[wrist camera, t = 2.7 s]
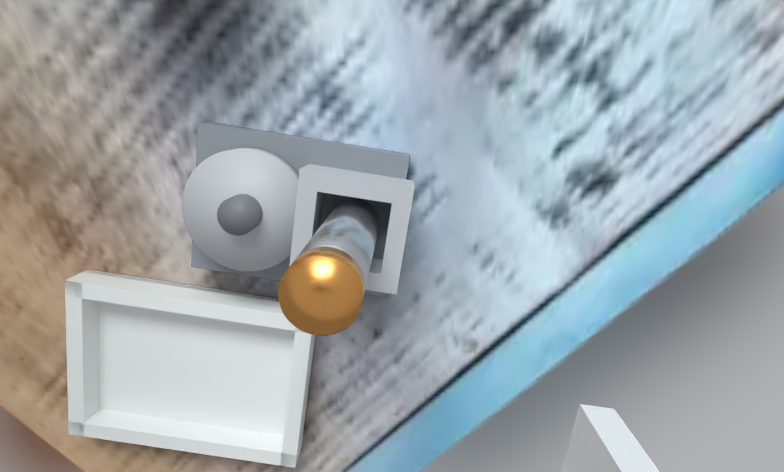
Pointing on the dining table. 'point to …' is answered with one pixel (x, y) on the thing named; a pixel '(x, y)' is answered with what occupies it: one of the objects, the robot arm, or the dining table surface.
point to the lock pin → (331, 271)
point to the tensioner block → (289, 200)
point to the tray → (185, 368)
